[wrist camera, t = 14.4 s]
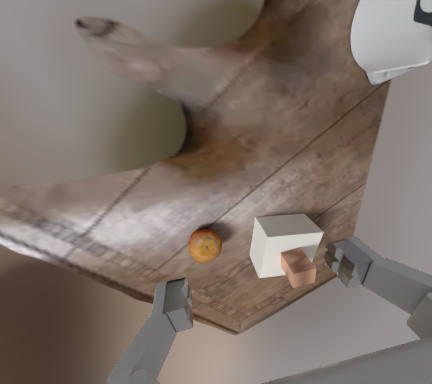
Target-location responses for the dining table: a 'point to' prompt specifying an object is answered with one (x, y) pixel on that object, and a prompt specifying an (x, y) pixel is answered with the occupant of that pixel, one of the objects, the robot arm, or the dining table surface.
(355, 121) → the dining table surface
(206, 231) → the fruit
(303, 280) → the terracotta block
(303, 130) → the dining table surface
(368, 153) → the dining table surface
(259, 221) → the cream box
